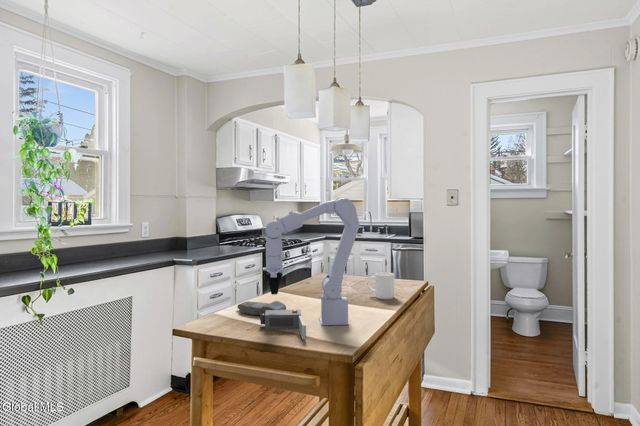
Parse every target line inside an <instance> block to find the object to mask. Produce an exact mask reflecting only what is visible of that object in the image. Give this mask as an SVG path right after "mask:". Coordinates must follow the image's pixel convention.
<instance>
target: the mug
mask: <svg viewBox="0 0 640 426" xmlns="http://www.w3.org/2000/svg"><path fill="white" fill-rule="evenodd" d="M372 280H374V288H372V286H371V282H372ZM366 284H367V289H368V291H370V292H371V293H374V296H375V298H376V299H379V300H391V299H393V298H394V297H395V274H394V272H388V271H387V272H386V271H380V272H375V274H374V275H372V276H370V277H369V278H368V279H367V282H366Z"/></svg>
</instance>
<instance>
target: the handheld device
mask: <svg viewBox="0 0 640 426" xmlns="http://www.w3.org/2000/svg"><path fill="white" fill-rule="evenodd" d="M236 307H237V309H238V310H239V312H240V313H241V314H245V315H255V316H256V315H259V316H261V314H265V312H266V310H287V306H286V304H285V303H283V302H281V301H278V300H275V301H272V302H269V303H268V302H260V301H244V302H241V303H239V304H237V306H236Z"/></svg>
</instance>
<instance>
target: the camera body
mask: <svg viewBox="0 0 640 426" xmlns="http://www.w3.org/2000/svg"><path fill="white" fill-rule="evenodd" d="M301 312H302V310H301V309H286V310H266V312H265V314H261V315H260V325H264V331H274V330H275V331H279V330H282V331H284V330H285V331H286V330H299V315H301V316H302V313H301Z"/></svg>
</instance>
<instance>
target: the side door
mask: <svg viewBox="0 0 640 426" xmlns="http://www.w3.org/2000/svg"><path fill="white" fill-rule="evenodd" d="M298 330H299V333H300V337H301V339H302V340H305V338H307V325H305V323H304V320H303V317H302V314H301V315H299V329H298Z"/></svg>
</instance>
